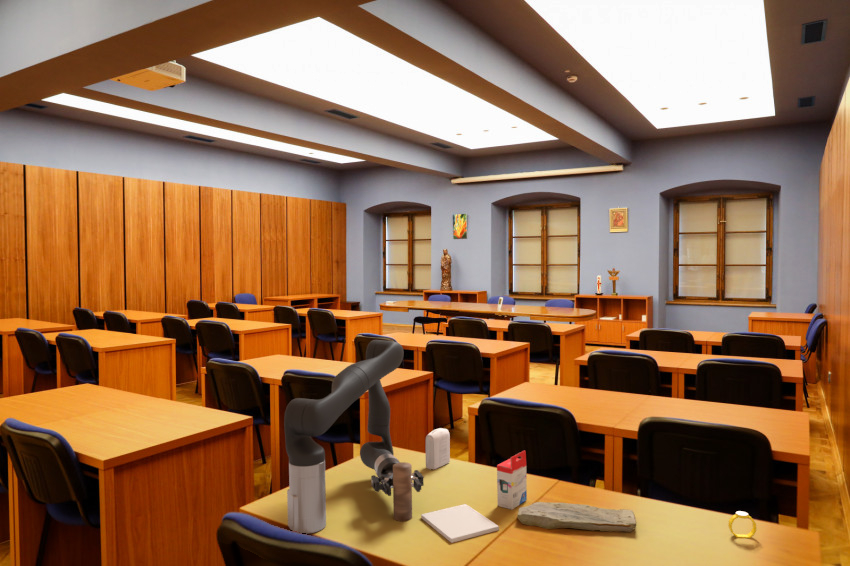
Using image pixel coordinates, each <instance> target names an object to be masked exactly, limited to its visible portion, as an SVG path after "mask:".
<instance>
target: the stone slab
mask: <svg viewBox="0 0 850 566" xmlns="http://www.w3.org/2000/svg"><path fill="white" fill-rule="evenodd" d="M517 519H518V520H519V522H520V523H521V524H523V525H526V526H529V527H530V526H536V527H539V528H542V529H547V530H548V529H549V530H554V529H562V528H563V529H566V528H567V529H568V528H569V529H570V528H571V529H575V530H576V529H578V530H588V531H594V530H600V531H599V532H612V531H619V532H627V533H628V532H629V533H631V532H633V530H635V529H636V528H637V520H636V515H635V512H634V510H632V509H625V508H621V509H611V508H603V507H597V506H594V505H593V506H592V505H589V504H580V503H567V502H548V501H547V502H545V501H544V502H542V501H537V502H533V503H531V504H530V505H527V506H521V507H518V512H517Z"/></svg>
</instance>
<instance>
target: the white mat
mask: <svg viewBox="0 0 850 566" xmlns="http://www.w3.org/2000/svg"><path fill="white" fill-rule="evenodd" d="M420 519H422V520H423V521H424V522H425V523H426V524H427V525H429V526H430V527H432V528H433V529H434V530H435V531H436V532H437V533H438V534H440V535H441V536H442V537H443V538H444V539H446V540H447V541H448V542H449V543H451V544H452V543H456V542H457V543H458V542H460V541H464V540H468V539H471V538H475V537H479V536H482V535H486V534H489V533H493V532H497V531H499V530H500V527H499V525H498V524H497V523H495V522H494V521H492V520H490V519H489V518H487V517H486V516H485V515H483V514H482V513H480V512H479V511H477V510H475V509H474V508H472V507H471V505H470V506H469V505H468V504H466V503H464V504H460V505H455V506H451V507H450V506H449V507H446V508H442V509H438V510H434V511H429V512H426V513H421V514H420Z"/></svg>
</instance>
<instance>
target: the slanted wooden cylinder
mask: <svg viewBox="0 0 850 566" xmlns="http://www.w3.org/2000/svg"><path fill="white" fill-rule="evenodd" d="M399 462H400V463H396V464H394V465H393V488H392V494H393V495H392V496H393V497H392V499H393V508H392V509H393V519H394V520H396V521H399V522H406V521H410V520H411V519H413V487H412V483H413V480H412V472H413V471H412V463H410V462H405V461H404V462H402V461H399Z"/></svg>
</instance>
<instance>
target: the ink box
mask: <svg viewBox="0 0 850 566" xmlns="http://www.w3.org/2000/svg"><path fill="white" fill-rule="evenodd" d="M496 476H497V477H496V478H497V479H496V480H497V481H496V484H497V489H496V492H497V494H496V495H497V506H498V507H501V508H504V509H507V510H514V509H515V508H516V507H519V506H520V505H521V504H523V503H525V502H526V501H527V499H528V498H527V492H528V491H527V490H528V489H527V487H528V485H527V454H526V450H522V451H521V452H518V453H516V454H515V455H513V456H510V458H508V459H507V460H504V461H502V462H501V463H499V464H497V465H496Z"/></svg>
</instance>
